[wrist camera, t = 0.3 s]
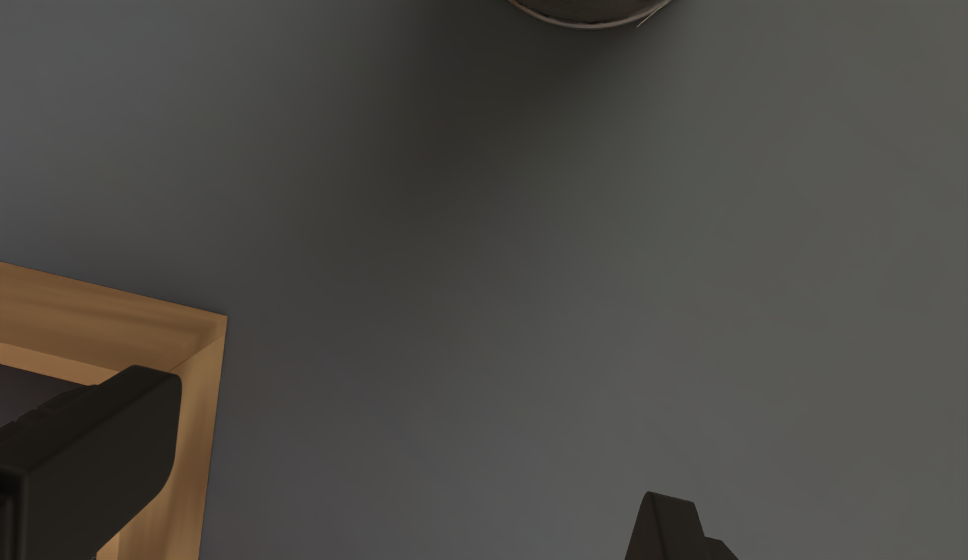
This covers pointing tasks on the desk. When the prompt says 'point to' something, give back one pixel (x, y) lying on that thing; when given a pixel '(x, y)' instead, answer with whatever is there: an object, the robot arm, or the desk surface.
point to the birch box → (109, 350)
